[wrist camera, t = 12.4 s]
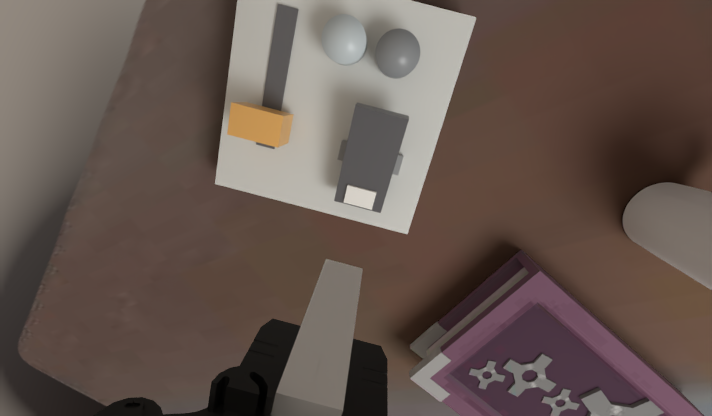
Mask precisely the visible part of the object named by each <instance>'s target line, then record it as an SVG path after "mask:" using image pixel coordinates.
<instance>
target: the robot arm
mask: <svg viewBox="0 0 712 416" xmlns="http://www.w3.org/2000/svg"><path fill="white" fill-rule="evenodd" d="M362 270H363V269H362V268H359V267H355V266H351V265H347V264H344V263H340V262H336V261H332V260H328V259H326V260H325V263H324V266H323V268H322V271H321V274H320V276H319V279H318V282H317V284H316V287H315V290H314V292H313V295H312V298H311V300H310V303H309V306H308V308H307V311H306V314H305V316H304V319H303V322H302V324H301V326H299V325H295V324H291V323H287V322H283V321H280V320H276V319H272V320H270V321H269V322H268V323H266V324H265V325H263V326H262V327H261V328H260V330H259V332H258V333H257V335H256V337H255V339H254V342H253V343H252V344H251V346H250V348H249V350H248V352H247V354H246V355H245V357H244V359H243V361H242V363H241V364H240V366H238V367H232V368H229V369H227V370H225V371H223V372H221V373H220V374H219V375H218V376H217V377H216V378H215V379H214V380H213V381H212V383H211V389H210V396H209V403H208V408H206V409H203V410H200V411H197V412H192V413H185V414H165V415H163V414H162V410H161V407H160V406H159V405H157V404H156V403H155V402H154V401H152V400H149V399H146V398H143V397H140V398H127V399H123V400H120V401H117V402H114V403H112V404H111V405H109V406H107V407H106V408H104V409H102V410H101V411H99V412H98V413H97V414H95V415H94V416H387V358H386V356H385V354H384V352H383V350H382V348H381V346H378V345H375V344H371V343H367V342H363V341H360V340H356V339H353V335H354V328H355V321H356V313H357V306H358V299H359V292H360V284H361V277H362Z"/></svg>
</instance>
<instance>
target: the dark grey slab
mask: <svg viewBox="0 0 712 416" xmlns="http://www.w3.org/2000/svg"><path fill="white" fill-rule="evenodd" d="M408 121H409V116H408V115H404V114H400V113H396V112H392V111H388V110H385V109H381V108H377V107H373V106H369V105H366V104H362V103H358V102H357V104H356V105H355V109H354V113H353V118H352V122H351V127H350V131H349V136H348V140H347V145H346V149H345V154H344V158H343V163H342V167H341V172H340V176H339V181H338V185H337V190H336V194H335V199H334V201H336V202H340V203H344V204H347V205H351V206H355V207H359V208H363V209H366V210H370V211H374V212H378V213H381V210H382V207H383V204H384V200H385V197H386V194H387V190H388V187H389V184H390V180H391V177H392V174H393V171H394V167H395V164H396V161H397V157H398V154H399V151H400V147H401V144H402V141H403V138H404V134H405V131H406V128H407V124H408Z"/></svg>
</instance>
